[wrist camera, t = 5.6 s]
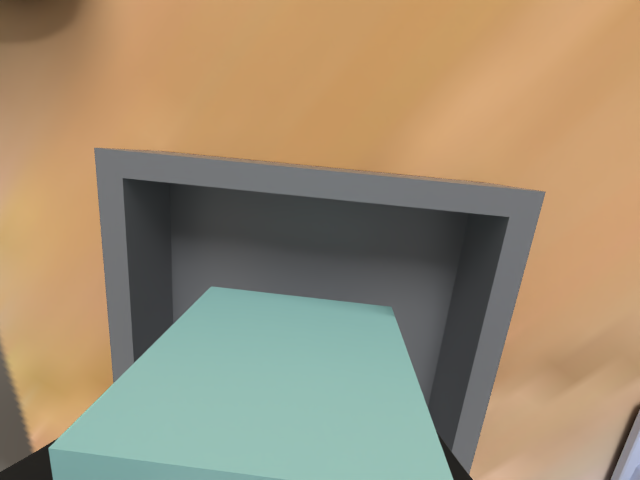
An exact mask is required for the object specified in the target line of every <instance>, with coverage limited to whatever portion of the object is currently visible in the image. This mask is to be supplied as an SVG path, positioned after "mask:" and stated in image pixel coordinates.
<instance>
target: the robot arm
mask: <svg viewBox="0 0 640 480" xmlns="http://www.w3.org/2000/svg"><path fill="white" fill-rule="evenodd" d="M435 430H436V429H435ZM436 432H437V431H436ZM437 435H438V438H439V441H440V444H441V446H442V449H443V452H444V455H445V458H446V460H447V463H448V466H449V469H450V472H451V474H452V477H453V480H473V479H472V478H471V477H470V476H469V474H468V473H467V472H466V470H465V469H464V468H463V466H462V465H461V464H460V462H459V461H458V460H457V458H456V457H455V456H454V454H453V453H452V452H451V450H450V449H449V448H448V446H447V445H446V443H445V442H444V441H443V439H442V438H441V437H440V435H439V434H438V432H437ZM56 440H57V439H56ZM56 440H54V441H53V442H51V443H50V444H48V445H46V446H45V447H43V448H41V449H40V450H38V451H36V452H35V453H33V454H31V455H29V456H28V457H26V458H24V459H23V460H21V461H19V462H17V463H16V464H14V465H12V466H10V467H8V468H7V469H5V470H3V471H1V472H0V480H53V476H52V469H51V463H50V456H49V449H48V448H49V447H50V446H51V445H52V444H53V443H54V442H55V441H56ZM611 480H640V410H639V412H638V415H637V417H636V419H635V422H634V424H633V427H632V429H631V431H630V434H629V436H628V439H627V441H626V444H625V446H624V448H623V451H622V453H621V456H620V458H619V460H618V463H617V465H616V468H615V470H614V472H613V475H612V477H611Z"/></svg>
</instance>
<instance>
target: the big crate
mask: <svg viewBox="0 0 640 480" xmlns="http://www.w3.org/2000/svg"><path fill="white" fill-rule="evenodd" d="M94 150H95V163H96V175H97V187H98V199H99V211H100V224H101V236H102V248H103V260H104V272H105V285H106V297H107V309H108V321H109V334H110V346H111V358H112V370H113V382H115V381H116V380H117V379H118V378H119V377H120V376H121V375H122V374H123V373H124V372H125V371H127V370H128V369H129V368H130V367H131V366H132V365H133V364H134V363H135V362H136V361H137V360H138V359H139V358H140V357H141V356H142V355H143V354H144V353H145V352H146V351H147V350H148V349H149V348H150V347H151V346H152V345H153V344H154V343H155V342H156V341H157V340H158V339H159V338H160V337H161V336H162V335H163V334H164V333H165V332H166V331H167V330H168V329H169V328H170V327H171V326H172V325H173V324H174V323H175V322H176V321H177V320H178V319H179V318H180V317H181V316H182V315H183V314H184V313H185V312H186V311H187V310H188V309H189V308H190V307H191V306H192V305H193V304H194V303H195V302H196V301H197V300H198V299H199V298H200V297H201V296H202V295H203V294H204V293H205V292H206V291H207V290H208V289H209V288H210V287H211V286H212V287H221V288H230V289H239V290H248V291H256V292H265V293H274V294H283V295H292V296H301V297H309V298H318V299H327V300H336V301H345V302H354V303H363V304H371V305H380V306H389V307H392V310H393V313H394V315H395V318H396V321H397V324H398V326H399V329H400V332H401V335H402V338H403V340H404V343H405V346H406V349H407V352H408V354H409V357H410V360H411V363H412V366H413V368H414V371H415V374H416V377H417V379H418V382H419V385H420V388H421V391H422V393H423V396H424V399H425V402H426V405H427V407H428V410H429V413H430V416H431V419H432V421H433V424H434V427H435V429H436V431H437V432H438V434H439V435H440V437H441V438H442V439H443V441H444V442H445V443H446V445H447V446H448V448H449V449H450V450H451V452H452V453H453V454H454V456H455V457H456V458H457V460H458V461H459V462H460V464H461V465H462V466H463V468H464V469H465V470H466V472H467V473H468V474H469V473H470V469H471V466H472V462H473V458H474V455H475V451H476V447H477V443H478V440H479V436H480V432H481V429H482V425H483V421H484V418H485V414H486V410H487V406H488V403H489V399H490V395H491V392H492V388H493V384H494V381H495V377H496V373H497V369H498V366H499V362H500V358H501V355H502V351H503V347H504V344H505V340H506V336H507V332H508V329H509V325H510V321H511V318H512V314H513V310H514V307H515V303H516V299H517V295H518V292H519V288H520V284H521V281H522V277H523V273H524V270H525V266H526V262H527V258H528V255H529V251H530V247H531V244H532V240H533V236H534V232H535V229H536V225H537V221H538V218H539V214H540V210H541V207H542V203H543V199H544V195H545V192H543V191H537V190H530V189H524V188H517V187H511V186H504V185H498V184H491V183H483V182H473V181H462V180H452V179H442V178H432V177H421V176H411V175H401V174H391V173H380V172H370V171H360V170H350V169H339V168H329V167H319V166H308V165H298V164H288V163H278V162H267V161H257V160H247V159H237V158H226V157H216V156H206V155H196V154H185V153H175V152H165V151H149V150H129V149H109V148H94Z"/></svg>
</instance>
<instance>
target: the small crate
mask: <svg viewBox="0 0 640 480" xmlns="http://www.w3.org/2000/svg"><path fill="white" fill-rule="evenodd" d="M48 449H49V456H50V463H51V469H52V476H53V480H453V477H452V474H451V472H450V469H449V466H448V463H447V460H446V458H445V455H444V452H443V449H442V446H441V444H440V441H439V438H438V435H437V432H436V430H435V427H434V424H433V421H432V419H431V416H430V413H429V410H428V407H427V405H426V402H425V399H424V396H423V393H422V391H421V388H420V385H419V382H418V379H417V377H416V374H415V371H414V368H413V366H412V363H411V360H410V357H409V354H408V352H407V349H406V346H405V343H404V340H403V338H402V335H401V332H400V329H399V326H398V324H397V321H396V318H395V315H394V313H393V310H392V307H389V306H380V305H371V304H363V303H354V302H345V301H336V300H327V299H318V298H309V297H301V296H292V295H283V294H274V293H265V292H256V291H248V290H239V289H230V288H221V287H212V286H211V287H210V288H209V289H208V290H207V291H206V292H205V293H204V294H203V295H202V296H201V297H200V298H199V299H198V300H197V301H196V302H195V303H194V304H193V305H192V306H191V307H190V308H189V309H188V310H187V311H186V312H185V313H184V314H183V315H182V316H181V317H180V318H179V319H178V320H177V321H176V322H175V323H174V324H173V325H172V326H171V327H170V328H169V329H168V330H167V331H166V332H165V333H164V334H163V335H162V336H161V337H160V338H159V339H158V340H157V341H156V342H155V343H154V344H153V345H152V346H151V347H150V348H149V349H148V350H147V351H146V352H145V353H144V354H143V355H142V356H141V357H140V358H139V359H138V360H137V361H136V362H135V363H134V364H133V365H132V366H131V367H130V368H129V369H128V370H127V371H125V372H124V373H123V374H122V375H121V376H120V377H119V378H118V379H117V380H116V381H115V382H114V383H113V384H112V385H111V386H110V387H109V388H108V389H107V390H106V391H105V392H104V393H103V394H102V395H101V396H100V397H99V398H98V399H97V400H96V401H95V402H94V403H93V404H92V405H91V406H90V407H89V408H88V409H87V410H86V411H85V412H84V413H83V414H82V415H81V416H80V417H79V418H78V419H77V420H76V421H75V422H74V423H73V424H72V425H71V426H70V427H69V428H68V429H67V430H66V431H65V432H64V433H63V434H62V435H61V436H60V437H59V438H58V439H57V440H56V441H55V442H54V443H53V444H52V445H51V446H50V447H49V448H48Z"/></svg>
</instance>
